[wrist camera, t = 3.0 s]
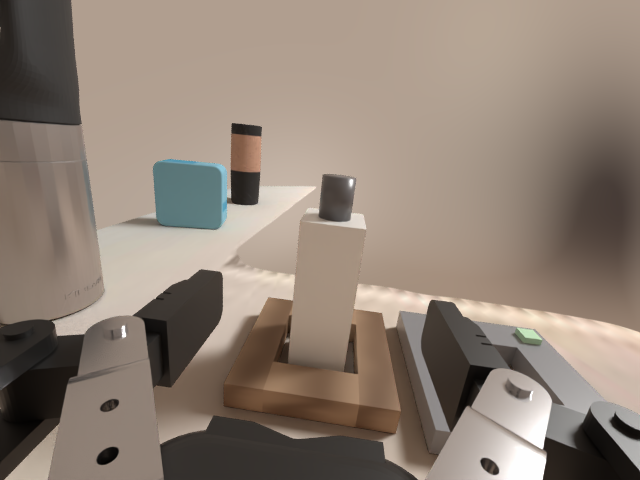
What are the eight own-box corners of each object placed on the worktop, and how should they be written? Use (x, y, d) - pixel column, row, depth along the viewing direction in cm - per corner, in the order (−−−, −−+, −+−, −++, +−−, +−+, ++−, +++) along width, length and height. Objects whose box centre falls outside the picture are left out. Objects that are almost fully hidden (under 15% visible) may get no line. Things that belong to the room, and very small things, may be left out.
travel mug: (225, 202, 79) (226, 122, 73) (236, 198, 87) (237, 124, 80) (253, 206, 79) (256, 125, 73) (262, 201, 86) (265, 127, 80)
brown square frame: (223, 405, 21) (223, 383, 20) (267, 313, 32) (268, 297, 32) (395, 433, 20) (400, 411, 20) (378, 329, 32) (381, 313, 31)
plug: (286, 375, 24) (303, 176, 19) (296, 340, 29) (312, 170, 24) (341, 383, 24) (373, 184, 19) (342, 347, 28) (368, 177, 23)
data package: (226, 223, 62) (227, 164, 58) (222, 230, 58) (222, 166, 54) (165, 219, 61) (162, 158, 57) (156, 225, 56) (151, 160, 53)
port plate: (428, 452, 19) (438, 422, 18) (396, 326, 33) (400, 305, 32) (657, 490, 19) (677, 460, 18) (528, 345, 32) (536, 324, 31)
